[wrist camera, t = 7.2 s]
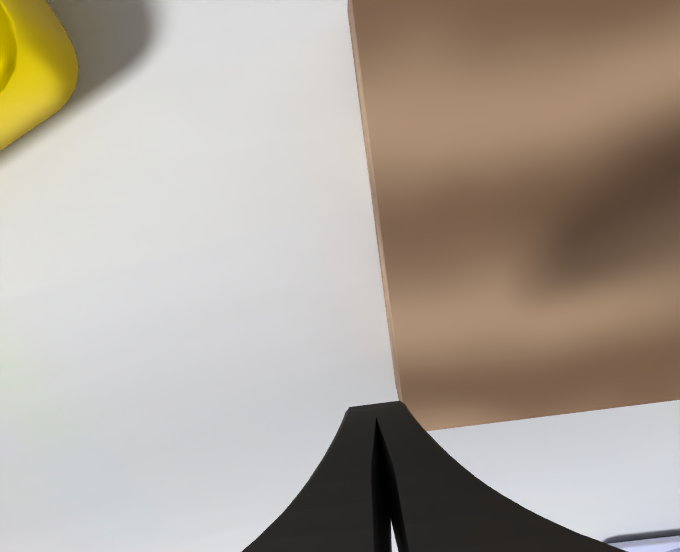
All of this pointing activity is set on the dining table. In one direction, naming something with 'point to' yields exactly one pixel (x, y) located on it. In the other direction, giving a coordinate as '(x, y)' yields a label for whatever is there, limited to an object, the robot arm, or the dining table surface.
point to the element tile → (32, 67)
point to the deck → (524, 201)
